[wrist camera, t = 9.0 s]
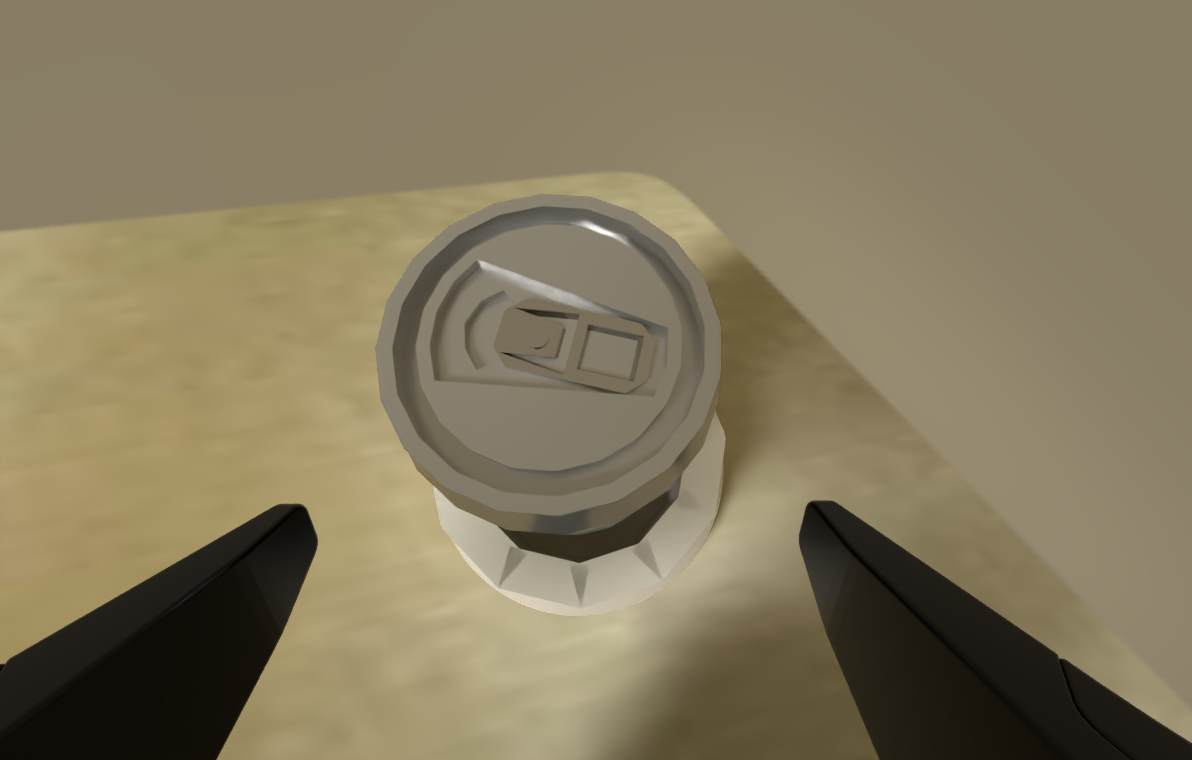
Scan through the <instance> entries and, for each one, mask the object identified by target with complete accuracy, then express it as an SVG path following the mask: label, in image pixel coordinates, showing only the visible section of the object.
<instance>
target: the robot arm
mask: <svg viewBox="0 0 1192 760" xmlns="http://www.w3.org/2000/svg"><path fill="white" fill-rule="evenodd" d="M799 545H800V549H801V553H802V556H803V559H804V563H805V566H806V569H807V572H808V576H809V579H810V582H811V586H812V589H813V592H814V595H815V599H816V602H817V605H818V609H819V612H820V615H821V618H822V621H823V624H824V627H825V630H826V633H827V636H828V638H829V641H830V643H831V646H832V648H833V651H834V653H835V655H836V658H837V660H838V662H839V665H840V667H841V669H842V672H843V674H844V677H845V679H846V681H847V684H848V686H849V688H850V691H851V693H852V696H853V698H854V700H855V703H856V705H857V707H858V710H859V712H860V715H861V717H862V719H863V722H864V724H865V726H866V729H867V731H868V733H869V736H870V738H871V741H872V743H873V745H874V748H875V750H876V752H877V755H878V757H879V760H1192V743H1191V742H1189V741H1187V740H1186V739H1184V738H1183V737H1181V736H1180V735H1178V734H1176V733H1175V732H1173V731H1172V730H1170V729H1169V728H1167V727H1165V726H1164V725H1162V724H1161V723H1159V722H1158V721H1156V720H1154V719H1153V718H1151V717H1150V716H1148V715H1147V714H1145V713H1144V712H1142V711H1141V710H1139V709H1138V708H1136V707H1135V706H1133V705H1132V704H1130V703H1129V702H1127V701H1126V700H1124V699H1123V698H1121V697H1120V696H1118V695H1117V694H1115V693H1114V692H1112V691H1111V690H1109V689H1108V688H1106V687H1105V686H1103V685H1102V684H1100V683H1099V682H1097V681H1096V680H1094V679H1093V678H1091V677H1090V676H1089V675H1087V674H1086V673H1084V672H1083V671H1081V670H1080V669H1078V668H1077V667H1075V666H1074V665H1073V664H1071V663H1070V662H1068V661H1067V660H1065V659H1059V657H1058V655H1057V654H1056V653H1055V652H1053V651H1052V650H1050V649H1049V648H1047V647H1046V646H1045V645H1043V644H1042V643H1040V642H1039V641H1037V640H1036V639H1034V638H1033V637H1031V636H1030V635H1029V634H1027V633H1026V632H1024V631H1023V630H1021V629H1020V628H1018V627H1017V626H1015V625H1014V624H1012V623H1011V622H1010V621H1008V620H1007V619H1005V618H1004V617H1002V616H1001V615H999V614H998V613H996V612H995V611H994V610H992V609H991V608H989V607H988V606H986V605H985V604H983V603H982V602H980V601H979V600H978V599H976V598H975V597H973V596H972V595H970V594H969V593H967V592H966V591H964V590H963V589H961V588H960V587H959V586H957V585H956V584H954V583H953V582H951V581H950V580H948V579H947V578H945V577H944V576H943V575H941V574H940V573H938V572H937V571H935V570H934V569H932V568H931V567H929V566H928V565H926V564H925V563H924V562H922V561H921V560H919V559H918V558H916V557H915V556H913V555H912V554H910V553H909V552H908V551H906V550H905V549H903V548H902V547H900V546H899V545H897V544H896V543H894V542H893V541H892V540H890V539H889V538H887V537H886V536H884V535H883V534H881V533H880V532H878V531H877V530H875V529H874V528H873V527H871V526H870V525H868V524H867V523H865V522H864V521H862V520H861V519H859V518H858V517H857V516H855V515H854V514H852V513H851V512H849V511H848V510H846V509H845V508H843V507H842V506H840V505H839V504H838V503H836V502H834V501H811V502H809V503H808V504H807V506H806V510H805V513H804V517H803V521H802V525H801V529H800V533H799ZM317 546H318V538H317V534H316V532H315V529H314V526H313V524H312V521H311V518H310V516H309V513H308V510H307V508H306V507H305V506H304V505H302V504H279V505H276V506H274V507H272V508H270V509H269V510H267V511H265V512H263V513H262V514H260V515H258V516H256V517H255V518H253V519H251V520H249V521H248V522H246V523H244V524H243V525H241V526H239V527H237V528H236V529H234V530H232V531H230V532H229V533H227V534H225V535H223V536H222V537H220V538H218V539H217V540H215V541H213V542H211V543H210V544H208V545H206V546H204V547H203V548H201V549H199V550H197V551H196V552H194V553H192V554H190V555H189V556H187V557H185V558H184V559H182V560H180V561H178V562H177V563H175V564H173V565H171V566H170V567H168V568H166V569H164V570H163V571H161V572H159V573H157V574H156V575H154V576H152V577H151V578H149V579H147V580H145V581H144V582H142V583H140V584H138V585H137V586H135V587H133V588H131V589H130V590H128V591H126V592H124V593H123V594H121V595H119V596H118V597H116V598H114V599H112V600H111V601H109V602H107V603H105V604H104V605H102V606H100V607H98V608H97V609H95V610H93V611H91V612H90V613H88V614H86V615H85V616H83V617H81V618H79V619H78V620H76V621H74V622H72V623H71V624H69V625H67V626H65V627H64V628H62V629H60V630H58V631H57V632H55V633H53V634H52V635H50V636H48V637H46V638H45V639H43V640H41V641H39V642H38V643H36V644H34V645H32V646H31V647H29V648H27V649H25V650H24V651H22V652H20V653H19V654H17V655H15V656H13V657H12V658H10V659H9V660H8V661H7V662H6V664H0V760H217V758H218V756H219V754H220V752H221V750H222V748H223V746H224V744H225V742H226V741H227V739H228V737H229V735H230V733H231V731H232V729H233V727H234V725H235V723H236V722H237V720H238V718H239V716H240V714H241V712H242V710H243V708H244V706H245V704H246V702H247V701H248V699H249V697H250V695H251V693H252V691H253V689H254V687H255V685H256V683H257V682H258V680H259V678H260V676H261V674H262V672H263V670H264V668H265V666H266V664H267V662H268V661H269V659H270V657H271V655H272V653H273V651H274V649H275V647H276V645H277V643H278V641H279V639H280V637H281V635H282V633H283V631H284V628H285V626H286V624H287V622H288V619H289V617H290V614H291V612H292V609H293V607H294V605H295V602H296V600H297V597H298V595H299V592H300V590H301V587H302V585H303V583H304V580H305V578H306V575H307V573H308V570H309V568H310V565H311V563H312V561H313V558H314V556H315V553H316V550H317Z"/></svg>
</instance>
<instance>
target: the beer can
mask: <svg viewBox="0 0 1192 760" xmlns="http://www.w3.org/2000/svg"><path fill="white" fill-rule="evenodd" d="M375 351H376V360H377V370H378V380H379V389H380V399H381V402H382V404H383V406H384V408H385V411H386V413H387V415H388V417H389V419H390V421H391V423H392V425H393V427H394V429H395V431H396V433H397V435H398V437H399V439H400V441H401V443H402V445H403V447H404V449H405V450H406V451H407V452H408V453H409V454H410V456H411V458H412V460H413V462H414V464H415V467H416V469H417V470H418V471H419V472H420V473H421V474H422V475H423V476H424V477H425V478H426V479H427V480H428V481H429V482H430V483H431V484H432V485H433V486H434V487H436V488H437V489H438V490H439V491H440V492H441V493H442V494H443V495H444V496H445V497H446V498H447V499H448V500H449V501H450V502H451V503H452V504H453V505H454V506H455V507H457V508H459V509H461V510H463V511H466V512H468V513H470V514H472V515H475V516H477V517H479V518H481V519H484V520H486V521H488V522H490V523H493V524H495V525H497V526H499V527H502V528H504V529H506V530H512V531H524V532H537V533H549V534H561V535H587V534H591V533H595V532H599V531H603V530H607V529H609V528H611V527H612V526H614V525H615V524H617V523H619V522H620V521H622V520H623V519H625V518H626V517H628V516H629V515H631V514H633V513H634V512H636V511H637V510H639V509H640V508H642V507H643V506H645V505H646V504H648V503H650V502H651V501H653V500H654V499H656V498H657V497H659V496H660V495H662V494H663V493H665V492H666V491H668V490H669V489H670V488H671V487H672V486H673V484H674V483H675V482H676V480H677V479H678V478H679V477H680V475H681V474H682V473H683V472H684V470H685V469H686V468H687V466H688V465H689V464H690V463H691V461H692V460H693V459H694V458H695V456H696V455H697V454H698V452H699V451H700V450H701V449H702V447H703V445H704V442H705V439H706V436H707V433H708V431H709V428H710V425H711V422H712V419H713V416H714V413H715V410H716V407H717V404H718V402H719V399H720V376H721V323H720V320H719V317H718V315H717V312H716V309H715V306H714V303H713V301H712V298H711V295H710V292H709V289H708V286H707V284H706V281H705V278H704V276H703V275H702V274H701V273H700V271H699V270H698V269H697V267H696V266H695V265H694V264H693V262H692V261H691V260H690V258H689V257H688V256H687V255H686V253H685V252H684V251H683V250H682V248H681V247H680V246H679V244H678V243H677V242H676V241H675V239H673V238H672V237H670V236H669V235H667V234H666V233H665V232H663V231H662V230H660V229H659V228H657V227H656V226H654V225H653V224H652V223H650V222H649V221H647V220H646V219H644V218H643V217H642V216H640V215H639V214H637V213H636V212H633V211H630V210H627V209H624V208H621V207H618V206H615V205H612V204H610V203H607V202H604V201H601V200H598V199H595V198H592V197H584V196H568V195H551V194H539V195H534V196H529V197H524V198H519V199H514V200H509V201H504V202H499V203H494V204H492V205H490V206H488V207H486V208H484V209H482V210H480V211H478V212H476V213H474V214H472V215H470V216H468V217H466V218H464V219H462V220H460V221H458V222H456V223H454V224H451V225H450V226H448V227H447V228H446V229H445V230H444V231H443V232H442V233H441V234H440V235H438V236H437V237H436V238H435V239H434V240H433V241H432V242H431V243H430V244H428V245H427V246H426V247H425V248H424V249H423V250H422V251H421V252H420V253H418V254H417V255H416V256H415V257H414V258H413V259H412V261H411V262H410V264H409V266H408V267H407V269H406V271H405V272H404V274H403V275H402V277H401V279H400V280H399V282H398V284H397V285H396V287H395V289H394V290H393V292H392V293H391V295H390V297H389V298H388V300H387V303H386V307H385V311H384V316H383V320H382V324H381V328H380V332H379V337H378V341H377V345H376V349H375Z"/></svg>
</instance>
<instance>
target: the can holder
mask: <svg viewBox="0 0 1192 760" xmlns="http://www.w3.org/2000/svg"><path fill="white" fill-rule="evenodd" d="M725 442H726V436H725V433H724V431H723V428H722V426H721V423H720V421H719V418H718V416H717V413H716V411H715V413H714V416H713V419H712V422H711V425H710V428H709V431H708V433H707V436H706V439H705V442H704V445H703V447H702V449H701V450H700V451H699V452H698V454H697V455H696V456H695V458H694V459H693V460H692V461H691V463H690V464H689V465H688V466H687V468H686V469H685V470H684V472H683V473H682V474H681V475H680V477H679V478H678V479H677V480H676V482H675V483H674V484H673V486H672V487H671V488H670V489H669V490H668V491H666V492H665V493H663V494H662V495H660V496H659V497H657V498H656V499H654V500H653V501H651V502H650V503H648V504H646V505H645V506H643V507H642V508H640V509H639V510H637V511H636V512H634V513H633V514H631V515H629V516H628V517H626V518H625V519H623V520H622V521H620V522H619V523H617V524H615V525H614V526H612V527H611V528H609V529H607V530H603V531H599V532H595V533H591V534H587V535H561V534H549V533H537V532H524V531H512V530H506V529H504V528H502V527H499V526H497V525H495V524H493V523H490V522H488V521H486V520H484V519H481V518H479V517H477V516H475V515H472V514H470V513H468V512H466V511H463V510H461V509H459V508H457V507H455V506H454V505H453V504H452V503H451V502H450V501H449V500H448V499H447V498H446V497H445V496H444V495H443V494H442V493H441V492H440V491H439V490H438V489H437V488H436V487H434V486H433V488H434V493H435V498H436V503H437V508H438V513H439V518H440V523H441V527H442V529H443V530H444V531H445V532H446V533H447V534H448V535H449V536H450V537H451V538H452V540H453V542H454V543H455V545H456V547H457V548H458V550H459V552H460V553H461V555H462V556H463V558H464V559H465V560H466V561H467V563H468V564H469V565H470V566H471V568H472V569H473V570H474V571H475V572H476V573H477V574H478V575H479V576H480V577H481V578H482V579H483V580H484V581H485V582H487V583H488V584H489V585H490V586H491V587H493V588H494V589H496V590H497V591H499V592H500V593H501V594H503V595H504V596H506V597H508V598H510V599H512V600H514V601H516V602H518V603H520V604H522V605H524V606H527V607H530V608H533V609H536V610H539V611H542V612H546V613H552V614H558V615H563V616H591V615H599V614H606V613H610V612H614V611H618V610H621V609H625V608H627V607H630V606H632V605H634V604H637V603H639V602H641V601H644V600H646V599H647V598H649V597H651V596H652V595H654V594H655V593H657V592H659V591H660V590H662V589H663V588H664V587H666V586H667V585H668V584H669V583H671V582H672V581H673V580H674V579H675V578H677V577H678V576H679V575H680V574H681V572H682V571H683V570H684V569H685V568H686V567H687V566H688V565H689V564H690V563H691V562H692V560H693V559H694V557H695V556H696V554H697V553H698V552H699V550H700V549H701V547H702V546H703V544H704V542H705V540H706V538H707V536H708V534H709V532H710V530H711V528H712V526H713V523H714V520H715V517H716V515H717V512H718V509H719V504H720V499H721V494H722V488H723V474H724V467H723V456H724V449H725Z"/></svg>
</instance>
